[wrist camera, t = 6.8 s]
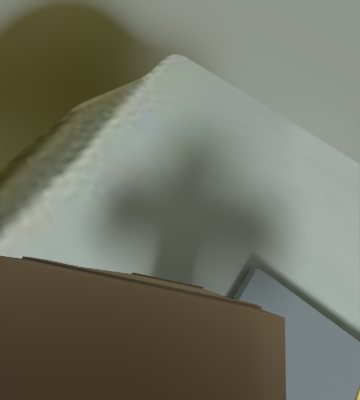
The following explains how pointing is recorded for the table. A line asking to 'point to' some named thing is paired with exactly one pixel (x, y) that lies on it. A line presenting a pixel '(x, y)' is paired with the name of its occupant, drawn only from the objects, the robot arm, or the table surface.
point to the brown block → (131, 338)
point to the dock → (307, 343)
